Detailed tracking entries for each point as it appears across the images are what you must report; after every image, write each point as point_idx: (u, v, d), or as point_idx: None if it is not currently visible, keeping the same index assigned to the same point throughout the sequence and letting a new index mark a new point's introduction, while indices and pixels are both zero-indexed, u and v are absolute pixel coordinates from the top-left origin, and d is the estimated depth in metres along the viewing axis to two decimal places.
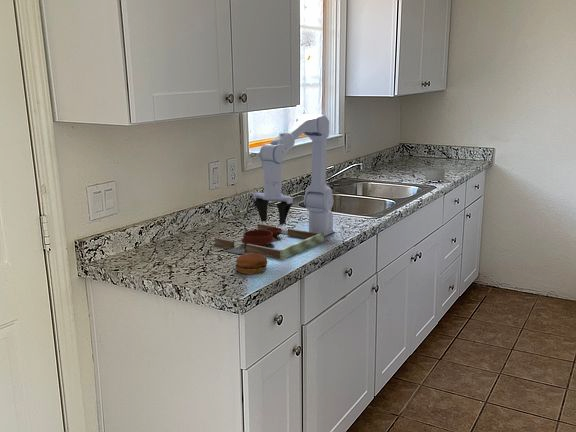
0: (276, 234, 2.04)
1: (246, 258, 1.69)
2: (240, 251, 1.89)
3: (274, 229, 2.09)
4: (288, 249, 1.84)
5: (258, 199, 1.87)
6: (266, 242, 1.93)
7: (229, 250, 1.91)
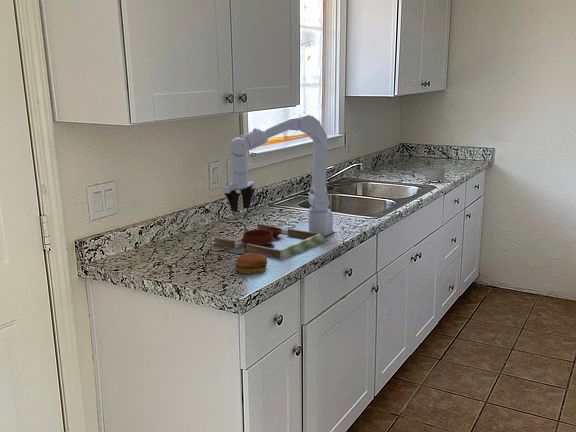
0: (276, 234, 2.04)
1: (246, 258, 1.69)
2: (240, 251, 1.89)
3: (274, 229, 2.09)
4: (288, 249, 1.84)
5: None
6: (266, 242, 1.93)
7: (229, 250, 1.91)
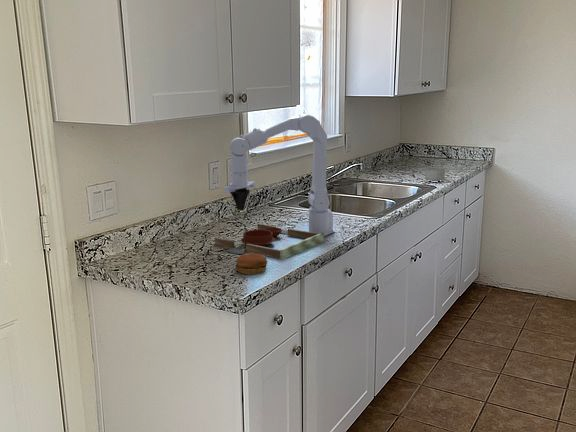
0: (276, 234, 2.05)
1: (246, 258, 1.69)
2: (240, 251, 1.89)
3: (274, 229, 2.09)
4: (288, 249, 1.84)
5: None
6: (266, 242, 1.93)
7: (229, 250, 1.91)
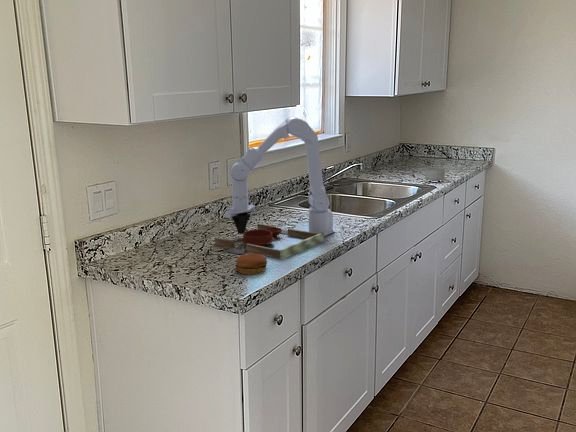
0: (276, 234, 2.05)
1: (246, 258, 1.69)
2: (240, 251, 1.89)
3: (274, 229, 2.09)
4: (288, 249, 1.84)
5: None
6: (266, 242, 1.93)
7: (229, 250, 1.91)
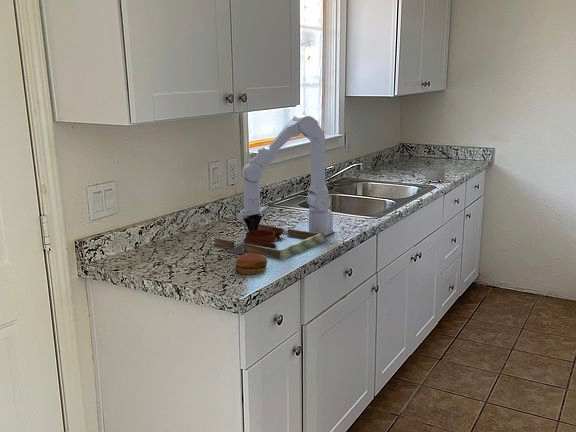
0: (278, 234, 2.04)
1: (246, 258, 1.69)
2: (240, 251, 1.89)
3: (276, 229, 2.09)
4: (288, 249, 1.84)
5: None
6: (269, 242, 1.92)
7: (229, 250, 1.91)
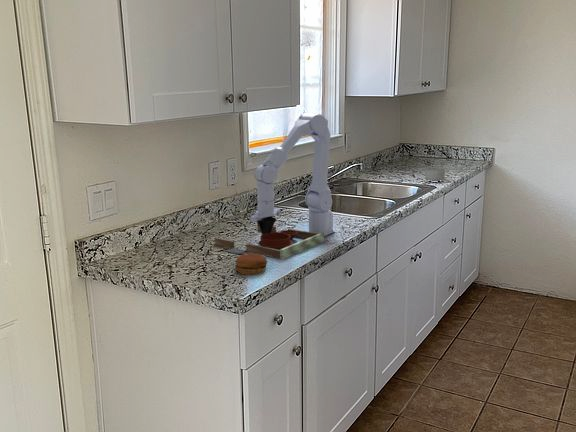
0: (292, 237, 2.01)
1: (246, 258, 1.69)
2: (240, 251, 1.89)
3: (289, 231, 2.05)
4: (288, 249, 1.84)
5: None
6: (285, 245, 1.89)
7: (229, 250, 1.91)
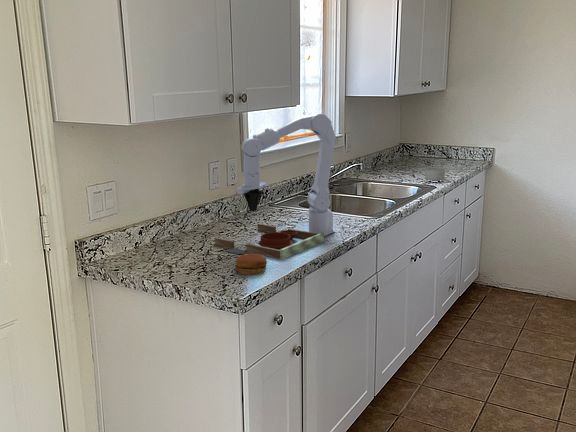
0: (292, 236, 2.01)
1: (245, 258, 1.68)
2: (240, 251, 1.89)
3: (289, 231, 2.06)
4: (288, 249, 1.84)
5: None
6: (285, 245, 1.89)
7: (229, 250, 1.91)
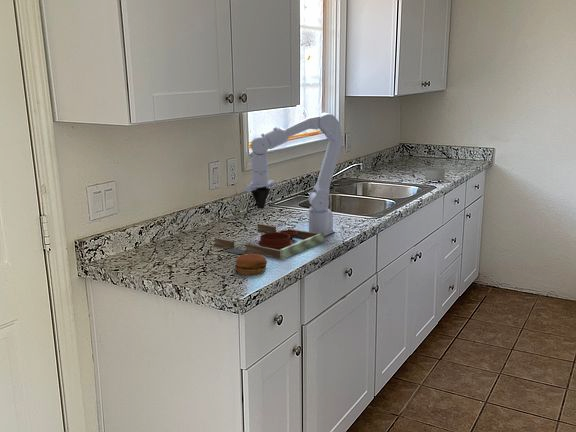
0: (292, 236, 2.01)
1: (245, 259, 1.68)
2: (240, 251, 1.89)
3: (288, 231, 2.06)
4: (288, 249, 1.84)
5: None
6: (285, 245, 1.89)
7: (229, 250, 1.91)
